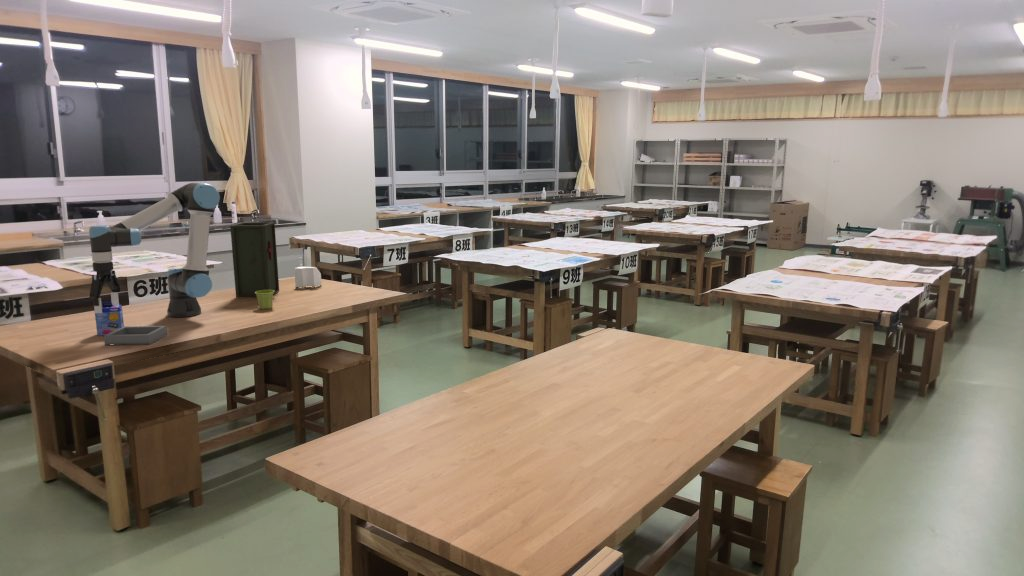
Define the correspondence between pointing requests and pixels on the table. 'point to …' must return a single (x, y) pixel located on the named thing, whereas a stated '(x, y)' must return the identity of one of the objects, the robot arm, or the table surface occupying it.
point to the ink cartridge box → (109, 319)
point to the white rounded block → (307, 276)
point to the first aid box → (254, 258)
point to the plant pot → (265, 298)
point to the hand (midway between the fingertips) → (107, 309)
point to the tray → (135, 335)
